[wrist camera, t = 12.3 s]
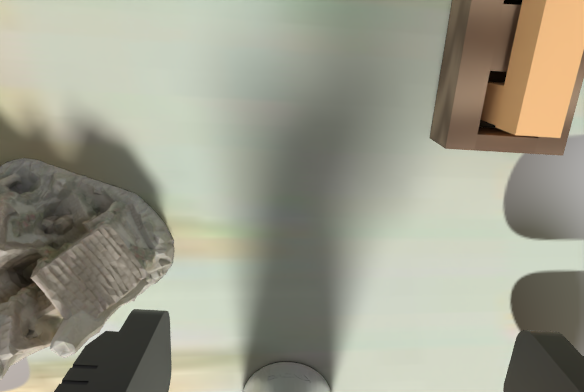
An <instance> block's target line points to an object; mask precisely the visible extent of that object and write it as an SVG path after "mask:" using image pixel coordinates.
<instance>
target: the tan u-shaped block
mask: <svg viewBox="0 0 584 392" xmlns="http://www.w3.org/2000/svg"><path fill="white" fill-rule="evenodd" d="M583 50H584V0H522V5H521V10H520V14H519V19H518V23H517V28H516V33H515V37H514V42H513V47H512V51H511V56H510V61H509V65H508V70H507V75H506V79H505V83H502V82H488V84H487V89H486V94H485V99H484V104H483V109H482V114H481V119H480V120H483V121H486V122H488V123H491V124H493V125H496V126H495V127H496V128H498V129H501V130H504V131H506V132H509V133H511V134H514V135H521V136H536V137H551V138H560V137H561V133H562V130H563V126H564V122H565V118H566V115H567V111H568V107H569V103H570V99H571V96H572V92H573V88H574V84H575V81H576V77H577V73H578V69H579V66H580V62H581V58H582V54H583Z"/></svg>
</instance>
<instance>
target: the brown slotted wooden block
mask: <svg viewBox="0 0 584 392" xmlns="http://www.w3.org/2000/svg"><path fill="white" fill-rule="evenodd" d="M503 3H504V0H452V5H451V11H450V17H449V23H448V29H447V35H446V41H445V48H444V54H443V60H442V66H441V72H440V78H439V84H438V91H437V97H436V103H435V109H434V115H433V121H432V127H431V134H430V139H432V140H433V141H435V142H436V143H438V144H439V145H441V146H442V147H444V148H445V149H462V150H479V151H496V152H513V153H530V154H547V155H563V153H564V150H565V146H566V142H567V138H568V135H569V131H570V127H571V123H572V119H573V116H574V112H575V108H576V104H577V101H578V97H579V93H580V89H581V86H582V82H583V78H584V50H583V54H582V58H581V62H580V66H579V69H578V73H577V77H576V81H575V84H574V88H573V92H572V96H571V99H570V103H569V107H568V111H567V115H566V118H565V122H564V126H563V130H562V133H561V137H560V138H551V137H536V136H521V135H514V134H511V133H509V132H506V131H504V130H501V129H498V128H493V127H479V124H480V119H481V114H482V109H483V104H484V99H485V94H486V89H487V84H488V79H489V74H490V71H502V72H507V70H508V65H509V61H510V56H511V51H512V47H513V42H514V37H515V33H516V28H517V23H518V19H519V14H520V10H521V5H513V4H503Z"/></svg>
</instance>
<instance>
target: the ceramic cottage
mask: <svg viewBox="0 0 584 392" xmlns="http://www.w3.org/2000/svg"><path fill="white" fill-rule="evenodd" d="M173 243H174V240H173V238H172V236H171V234H170V232H169V230H168V228H167V226H166V224H165V223H164V222H163V221H162V219H161V218H160V217H159V216H158V214H157V213H156V212H155V211H154V210H153V209H152V207H150V206H148V204H147V203H145V202H144V200H143V199H142V198H141V197H140V196H138V195H137V194H135V193H132V192H130V191H127V190H124V189H121V188H119V187H115V186H112V185H109V184H107V183H103V182H100V181H97V180H94V179H91V178H87V177H86V176H83V175H78V174H75V173H74V172H70V171H67V170H65V169H62V168H59V167H55V166H54V165H50V164H47V163H44V162H42V161H39V160H34V159H26V158H23V159H17V160H12V161H10V162H6V163H5V164H3V165H2V166H0V380H1V379H2V378H3V376H4V375H5V373H6V372H7V370H8V368H9V367H10V366H11V365H13V364H15V363H17V362H19V361H21V360H22V359H24V358H25V357H27V356H29V355H31V354H33V353H35V352H37V351H39V350H42V349H43V348H46V347H49V346H50V349H51V350H52V351H53V352H54V353H56V354H57V355H59V356H61V357H64V358H65V357H68V356H70V355H72V354H75V353H76V352H77V351H78V350H79V349H80V348H81V346H82V345H83V344H84V343H85V342H86V341H87V340H88V339H89V338H91V337H92V336H94V335H96V334H97V333H99V332H100V330H101V328H102V327H103V325H104V324H105V322H106V321H107V320H108V319H109V317H110V316H111V315H112V314H113V313H114V312H115V311H116V310H117V309H118V308H119V307H121V306H123V305H125V304H127V303H129V302H131V301H134V300H135V299H136V297H137V296H138V295H140V294H142V293H143V292H144V291H145V290H146V289H147V288H148V287H150V286H151V285H153V284H156V283H157V282H158V281H159V280H160V279H161V278H162V277H163V276H164V275H165V274H166V272H167V271H168V269H169V268H170V267H171V266H172V263H173V257H174V246H173Z"/></svg>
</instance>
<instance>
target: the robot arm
mask: <svg viewBox="0 0 584 392" xmlns="http://www.w3.org/2000/svg"><path fill="white" fill-rule="evenodd" d="M170 379H171V341H170V317H169V313H168V311H158V310H139V309H134V310H132V312H131V313H130V315H129V316H128V318H127V319H126V321H125V323H124V324H123V326H122V328H121V329H120V331H119V332H113V331H105V332H104V333H103V334H101V335H100V336H99V337H97V338H96V339H95V340H93V341H92V342H90V343H89V344H88V345H86V346H85V348H84V349H83V351H82V352H81V354H80V355H79V356H78V358H77V359H76V361H75V362H74V364H73V367H72V368H70V369H69V371H68V372H67V374H66V375H65V377H64V378H63V380H62V384H59V385H58V387H57V388H56V390H55V391H54V392H168V390H169V386H170ZM243 392H330V388H329V386H328V384H327V382H326V380H325V379H324V378H323V376H322V375H320V374H319V373H318V372H317V371H316V370H314V369H312V368H310V367H308V366H306V365H303V364H300V363H293V362H279V363H274V364H270V365H268V366H265V367H263V368H261V369H260V370H258V371H257V372H255V373H254V374H253V375H252V376H251V377H250V378H249V380H248V381H247V383H246V385H245V387H244V391H243ZM504 392H584V356H582V355H581V354H580V353H579V352H578V351H577V350H576V349H575V348H574V347H573V345H572V344H571V343H570V342H569V341H568V340H567V339H566V338H565V337H564V336H563V335H562V334H560V333H559V332H549V331H530V330H529V331H528V330H523V331H521V332H520V333H519V334H518V336H517V338H516V341H515V345H514V349H513V352H512V356H511V360H510V364H509V367H508V371H507V375H506V379H505V382H504Z"/></svg>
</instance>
